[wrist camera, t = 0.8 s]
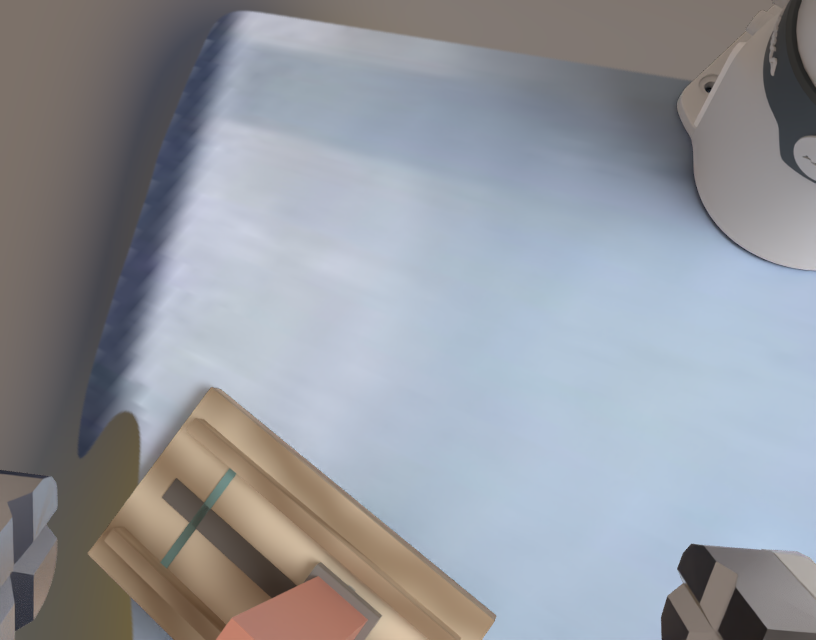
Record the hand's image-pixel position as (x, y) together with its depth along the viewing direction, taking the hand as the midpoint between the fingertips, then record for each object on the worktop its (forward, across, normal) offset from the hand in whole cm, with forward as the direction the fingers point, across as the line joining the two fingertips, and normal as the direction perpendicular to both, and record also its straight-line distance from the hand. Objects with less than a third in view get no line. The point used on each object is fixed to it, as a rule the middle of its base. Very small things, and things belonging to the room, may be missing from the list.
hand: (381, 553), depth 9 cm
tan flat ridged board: (+30, +1, +26) cm, 39 cm away
